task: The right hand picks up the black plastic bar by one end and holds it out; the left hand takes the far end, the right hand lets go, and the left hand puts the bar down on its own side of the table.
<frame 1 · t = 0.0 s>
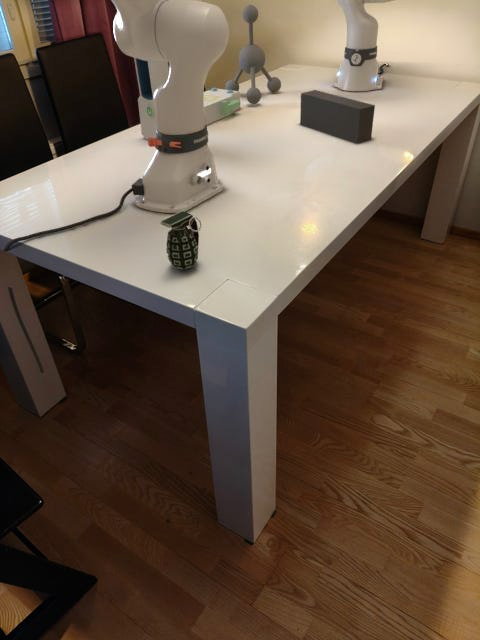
electronic device: (163, 138, 153), on the table
grenade: (185, 266, 91), on the table
molecular model: (257, 96, 188), on the table
decorative block: (205, 116, 170), on the table
bar: (333, 131, 150), on the table
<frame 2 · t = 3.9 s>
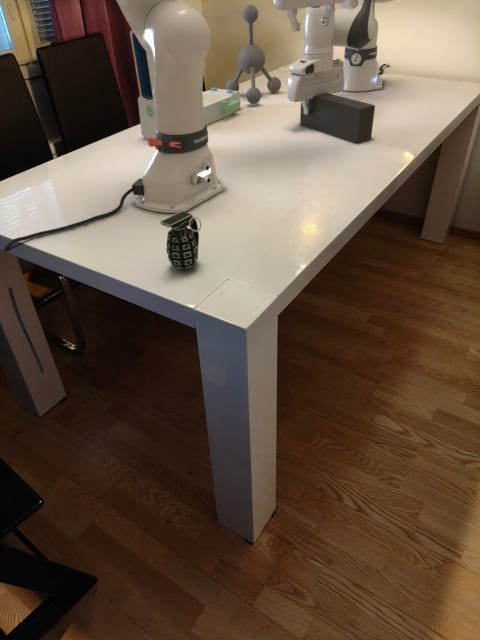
left hand: (310, 28, 118), 30 cm above the table, tool pointing down, fingers open, 8 cm apart
right hand: (315, 111, 153), 4 cm above the table, tool pointing down, fingers closed on bar, 6 cm apart
bar: (333, 131, 150), on the table, touching right hand
everything else where it was.
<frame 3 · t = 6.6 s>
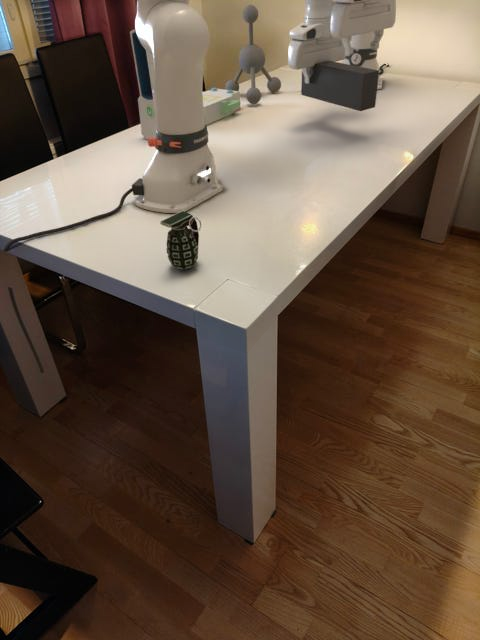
left hand: (361, 52, 130), 23 cm above the table, tool pointing down, fingers open, 8 cm apart
right hand: (317, 80, 148), 13 cm above the table, tool pointing down, fingers closed on bar, 6 cm apart
bar: (336, 100, 145), point 9 cm above the table, touching right hand
everything else where it was.
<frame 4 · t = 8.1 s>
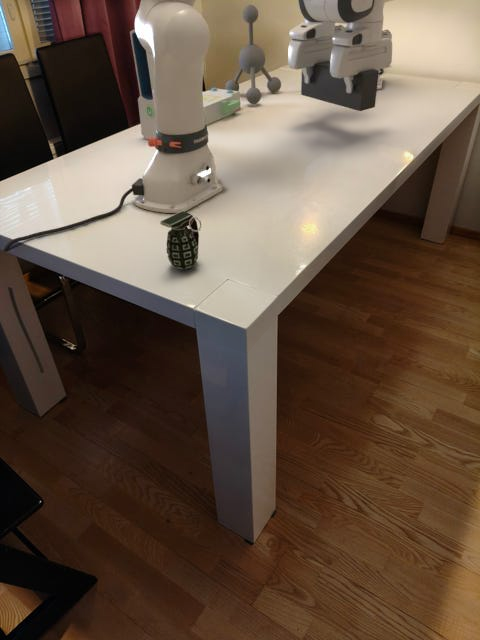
left hand: (359, 90, 136), 13 cm above the table, tool pointing down, fingers closed on bar, 6 cm apart
right hand: (317, 80, 148), 13 cm above the table, tool pointing down, fingers closed on bar, 6 cm apart
bar: (336, 100, 145), point 9 cm above the table, touching left hand, right hand
everything else where it was.
when the right hand's fingers open (13 cm above the table, at t = 9.3 s): bar stays where it is, held by the left hand.
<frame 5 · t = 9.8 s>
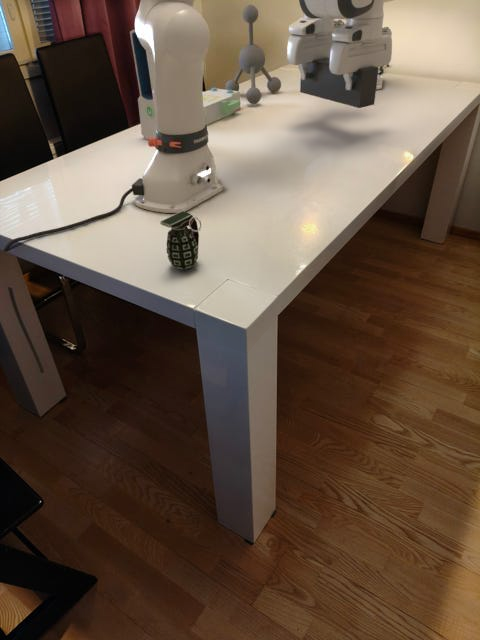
left hand: (358, 87, 136), 14 cm above the table, tool pointing down, fingers closed on bar, 6 cm apart
right hand: (316, 76, 148), 14 cm above the table, tool pointing down, fingers open, 8 cm apart
bar: (335, 98, 144), point 10 cm above the table, touching left hand
everything else where it was.
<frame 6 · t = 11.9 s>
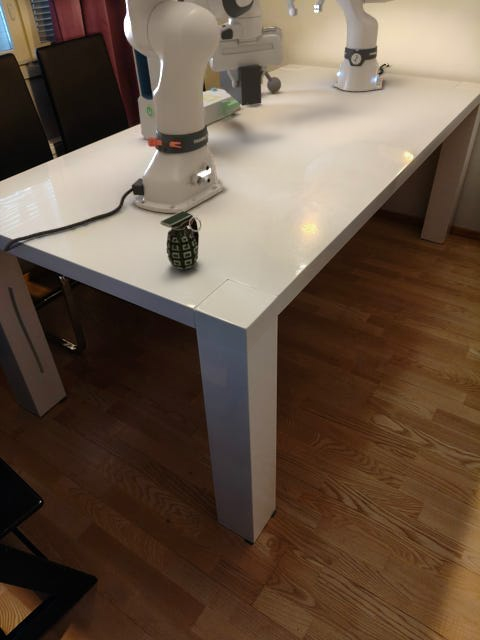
left hand: (247, 85, 137), 16 cm above the table, tool pointing down, fingers closed on bar, 6 cm apart
right hand: (306, 14, 142), 30 cm above the table, tool pointing down, fingers open, 8 cm apart
bar: (239, 94, 147), point 11 cm above the table, touching left hand
everything else where it was.
when the left hand's fingers open (6 cm above the table, at t = 13.5 s): bar stays where it is, on the table.
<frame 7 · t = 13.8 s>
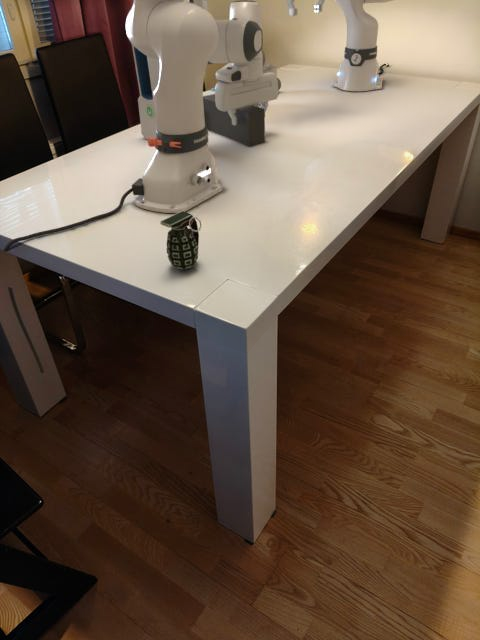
left hand: (248, 121, 143), 6 cm above the table, tool pointing down, fingers open, 8 cm apart
right hand: (306, 14, 142), 30 cm above the table, tool pointing down, fingers open, 8 cm apart
bar: (233, 134, 153), on the table
everything else where it was.
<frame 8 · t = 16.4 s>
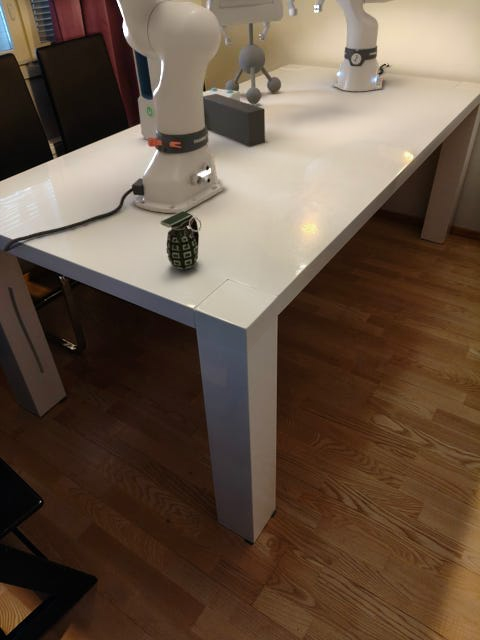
left hand: (245, 43, 131), 26 cm above the table, tool pointing down, fingers open, 8 cm apart
right hand: (306, 14, 142), 30 cm above the table, tool pointing down, fingers open, 8 cm apart
nothing on the table moved.
at the end: bar inside the target area (8.7 cm from its centre), on the table; the left hand is holding nothing; the right hand is holding nothing; bar at rest at the end (0.0 cm/s) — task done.
